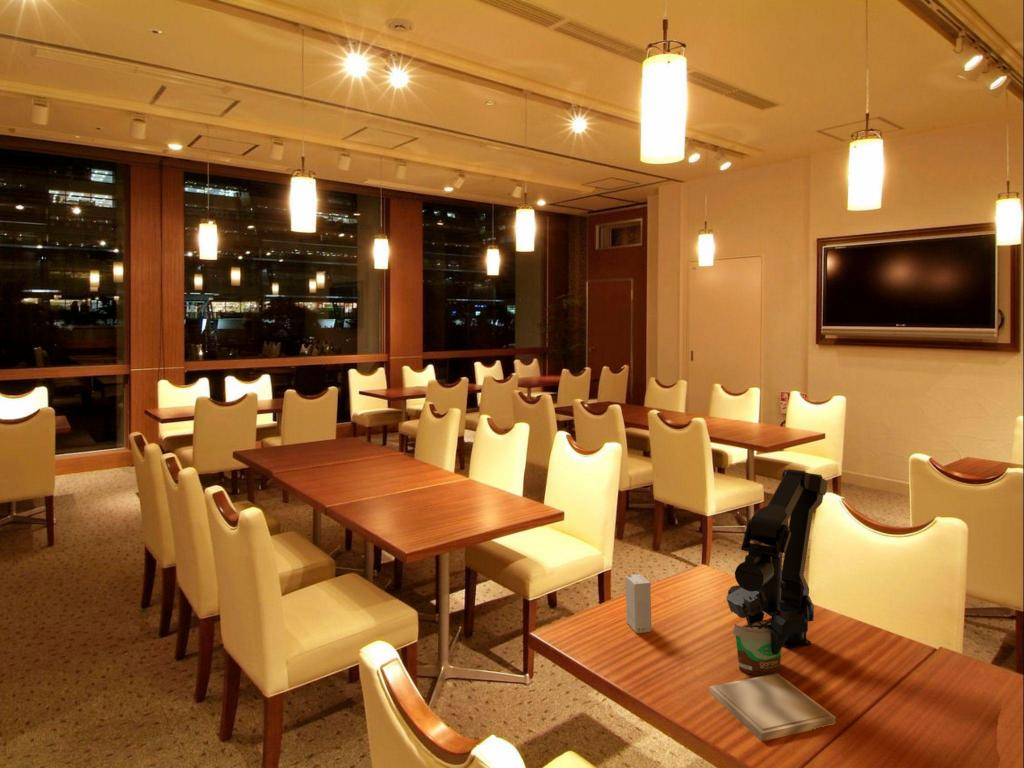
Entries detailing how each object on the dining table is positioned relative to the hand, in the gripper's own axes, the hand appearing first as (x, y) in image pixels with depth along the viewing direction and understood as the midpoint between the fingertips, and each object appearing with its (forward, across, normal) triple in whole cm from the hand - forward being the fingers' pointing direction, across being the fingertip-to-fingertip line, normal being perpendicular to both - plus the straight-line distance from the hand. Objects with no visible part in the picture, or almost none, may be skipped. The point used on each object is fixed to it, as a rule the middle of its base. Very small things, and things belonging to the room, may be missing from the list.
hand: (764, 647), depth 141 cm
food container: (+5, +1, 0) cm, 5 cm away
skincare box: (+5, -26, -16) cm, 31 cm away
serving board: (+6, +12, -8) cm, 16 cm away
